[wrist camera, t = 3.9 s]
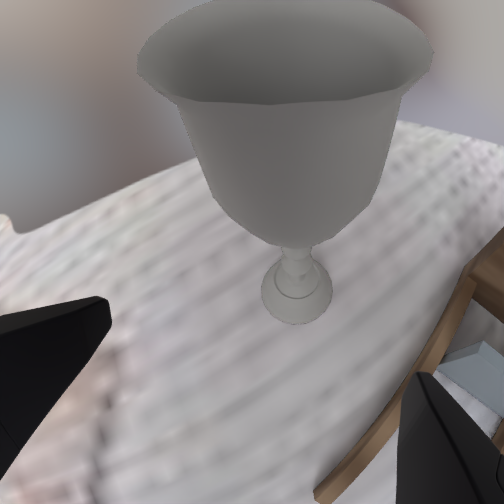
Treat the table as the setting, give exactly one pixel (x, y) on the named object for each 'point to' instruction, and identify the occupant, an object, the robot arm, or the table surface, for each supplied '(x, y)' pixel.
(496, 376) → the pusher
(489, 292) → the brown wooden u-shaped piece
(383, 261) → the table surface
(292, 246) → the chalice
